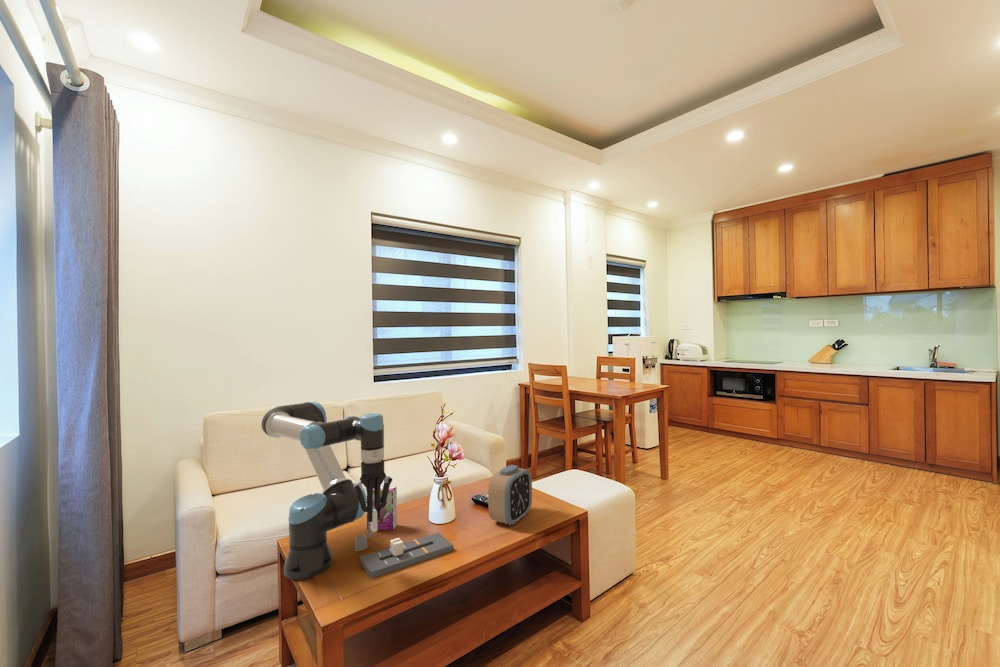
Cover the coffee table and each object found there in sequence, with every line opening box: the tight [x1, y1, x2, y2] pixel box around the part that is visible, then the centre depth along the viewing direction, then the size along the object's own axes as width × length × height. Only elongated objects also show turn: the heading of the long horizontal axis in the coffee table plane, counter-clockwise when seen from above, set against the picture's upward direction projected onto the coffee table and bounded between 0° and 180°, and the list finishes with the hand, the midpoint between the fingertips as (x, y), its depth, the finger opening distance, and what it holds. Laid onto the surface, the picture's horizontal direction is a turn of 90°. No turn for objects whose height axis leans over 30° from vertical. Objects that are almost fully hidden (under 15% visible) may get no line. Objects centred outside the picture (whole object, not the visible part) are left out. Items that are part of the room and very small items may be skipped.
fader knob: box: [389, 537, 404, 557], centre depth 147 cm, size 3×4×6 cm
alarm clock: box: [487, 464, 533, 526], centre depth 178 cm, size 21×10×22 cm, turn 148°
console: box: [359, 532, 454, 579], centre depth 149 cm, size 30×12×2 cm, turn 124°
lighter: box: [354, 526, 374, 552], centre depth 156 cm, size 7×2×8 cm, turn 117°
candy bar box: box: [366, 485, 398, 531], centre depth 172 cm, size 11×5×16 cm, turn 84°
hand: (374, 530), depth 142 cm, fingers closed
